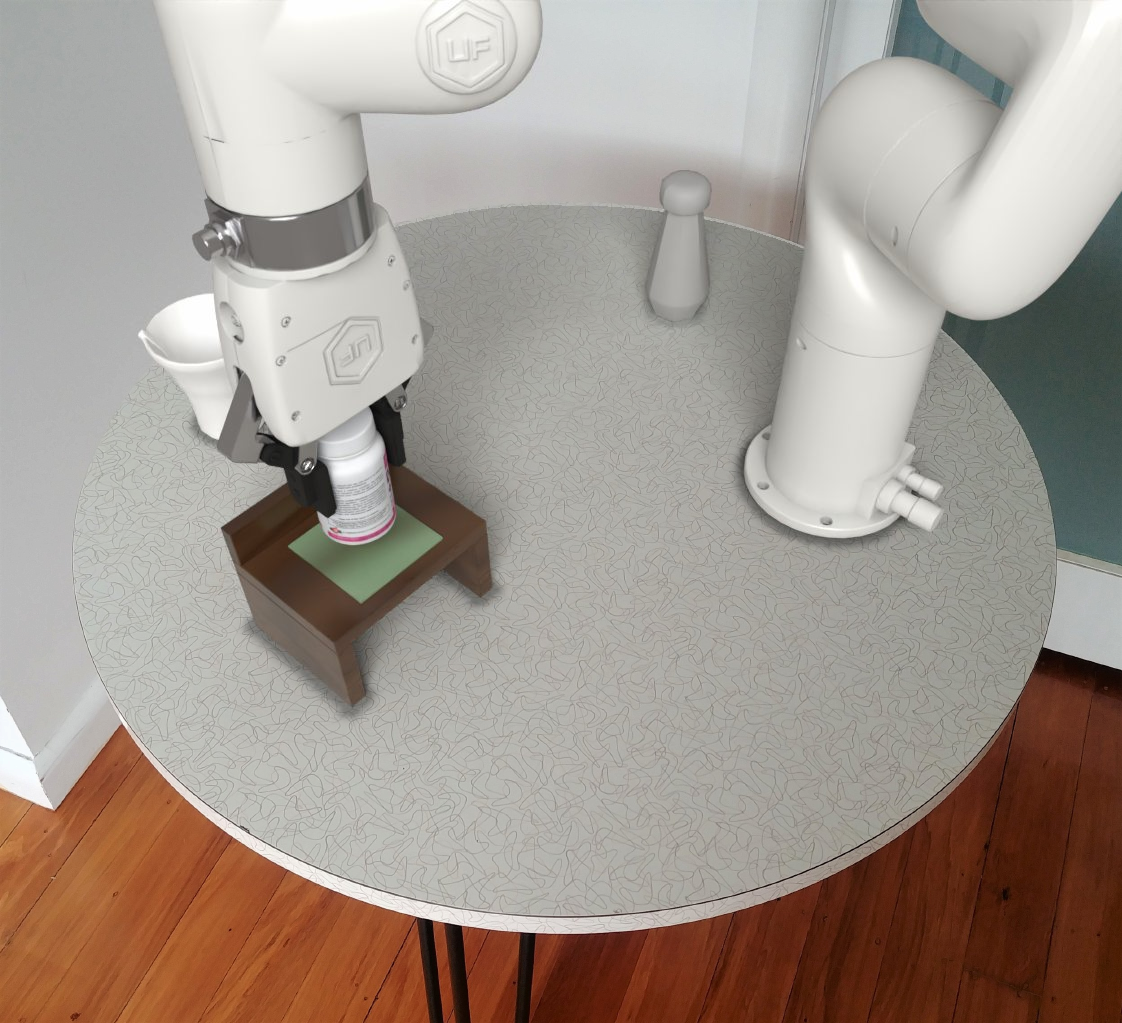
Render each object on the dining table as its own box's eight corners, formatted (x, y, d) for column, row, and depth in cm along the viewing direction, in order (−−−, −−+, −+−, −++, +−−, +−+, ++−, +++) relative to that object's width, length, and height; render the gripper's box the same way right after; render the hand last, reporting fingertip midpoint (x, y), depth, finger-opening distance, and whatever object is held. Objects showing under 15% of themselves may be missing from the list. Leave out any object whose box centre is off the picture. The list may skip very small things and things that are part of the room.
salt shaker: (647, 286, 99) (655, 157, 89) (709, 292, 98) (724, 163, 89) (640, 324, 95) (647, 193, 85) (704, 330, 94) (719, 199, 85)
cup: (180, 392, 89) (145, 293, 82) (292, 383, 90) (267, 284, 82) (166, 466, 83) (127, 366, 76) (286, 455, 84) (259, 356, 76)
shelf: (492, 587, 75) (483, 488, 67) (352, 707, 68) (325, 612, 61) (395, 519, 79) (377, 419, 72) (255, 625, 72) (219, 527, 65)
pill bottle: (412, 519, 66) (396, 419, 60) (350, 560, 64) (326, 460, 58) (367, 480, 69) (347, 380, 63) (305, 518, 67) (278, 418, 60)
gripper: (192, 324, 44) (279, 595, 58) (475, 167, 53) (494, 434, 66) (93, 257, 48) (197, 528, 61) (374, 121, 57) (411, 383, 70)
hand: (351, 477), depth 64 cm, fingers closed on pill bottle, 4 cm apart
